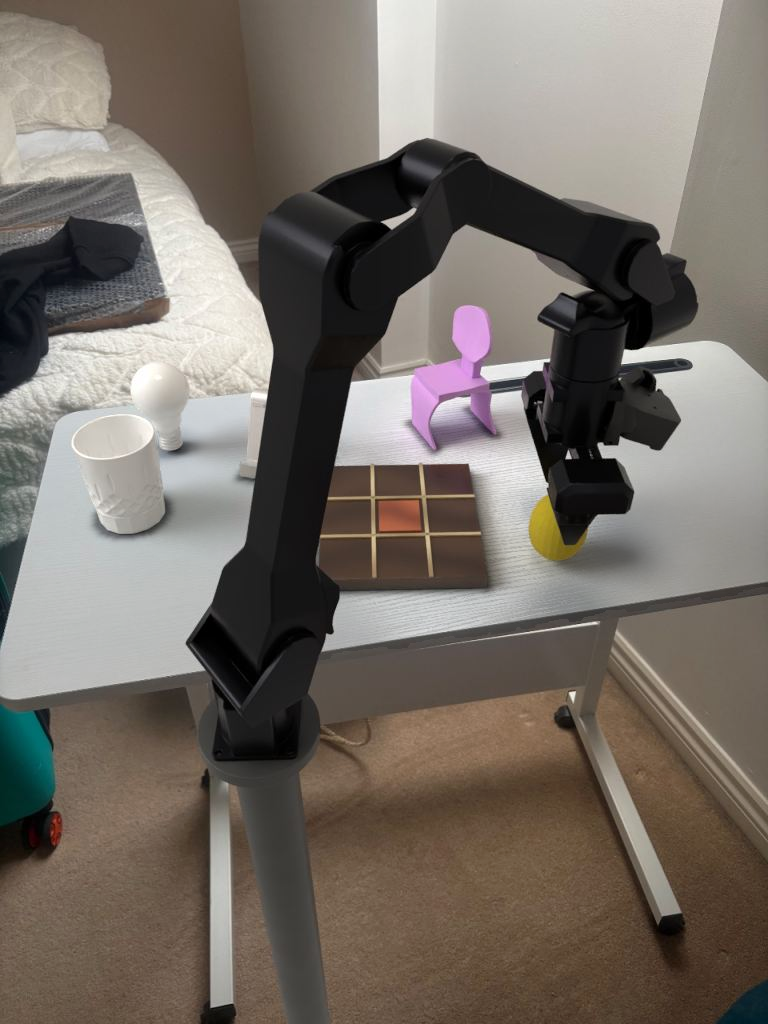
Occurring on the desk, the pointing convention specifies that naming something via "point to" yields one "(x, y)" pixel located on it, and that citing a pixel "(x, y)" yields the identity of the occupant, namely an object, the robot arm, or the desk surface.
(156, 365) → the lightbulb
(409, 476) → the board
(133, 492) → the white cup
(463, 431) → the desk surface
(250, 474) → the tablet stand
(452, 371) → the toy chair
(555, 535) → the lemon
